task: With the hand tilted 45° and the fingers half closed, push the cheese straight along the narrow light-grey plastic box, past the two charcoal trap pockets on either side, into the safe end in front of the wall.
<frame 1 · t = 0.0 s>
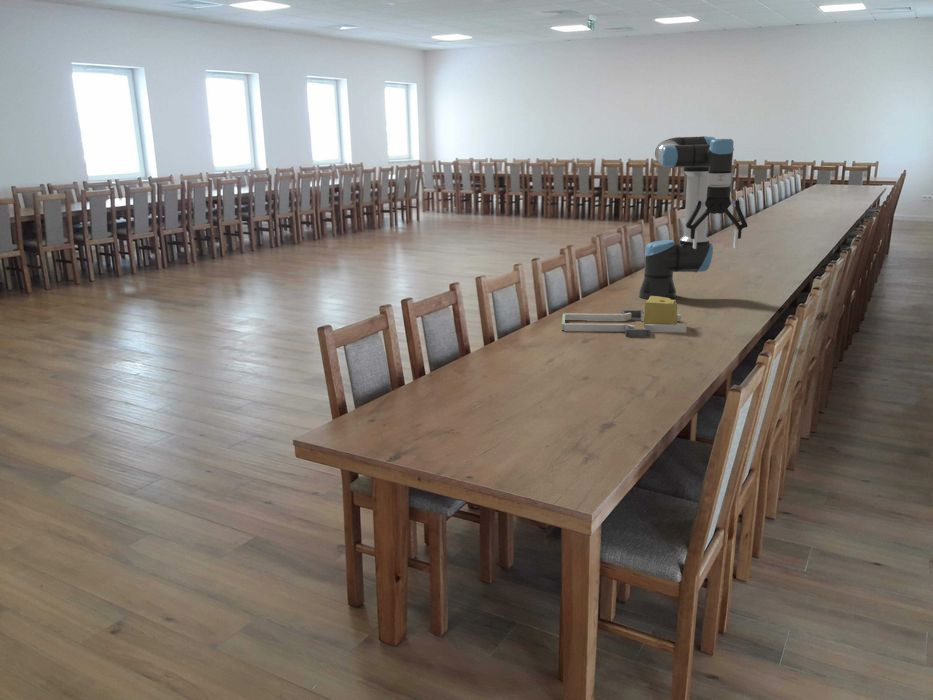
hand: (714, 248, 261), 28 cm above the table, tool pointing down, fingers open, 13 cm apart
cheese: (660, 327, 271), on the table
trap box: (620, 325, 273), on the table
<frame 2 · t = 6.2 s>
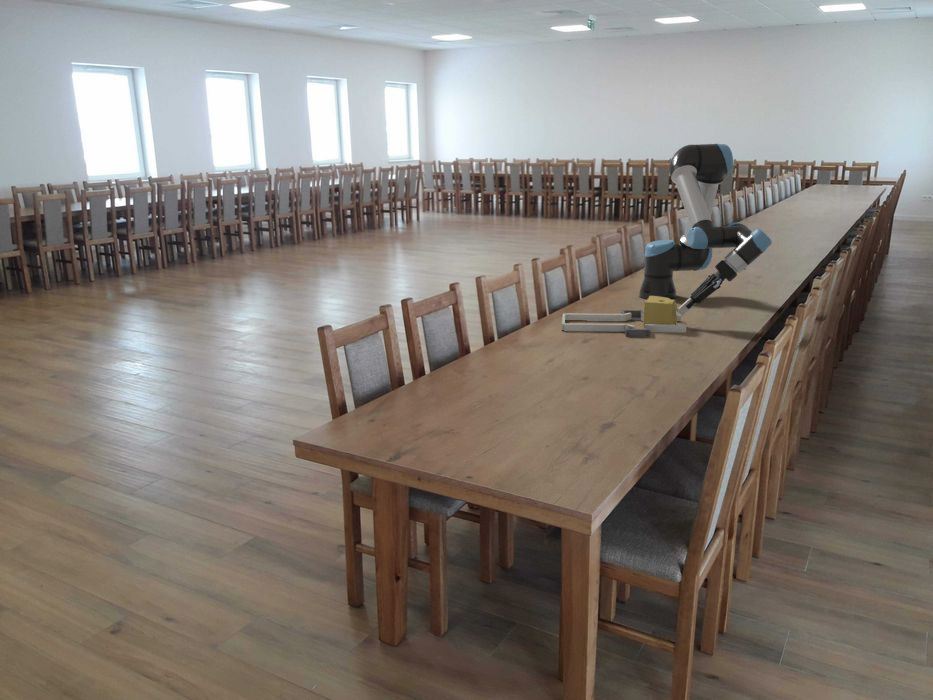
hand: (679, 313, 269), 5 cm above the table, tool tilted 45°, fingers closed
cheese: (659, 327, 271), on the table, touching gripper
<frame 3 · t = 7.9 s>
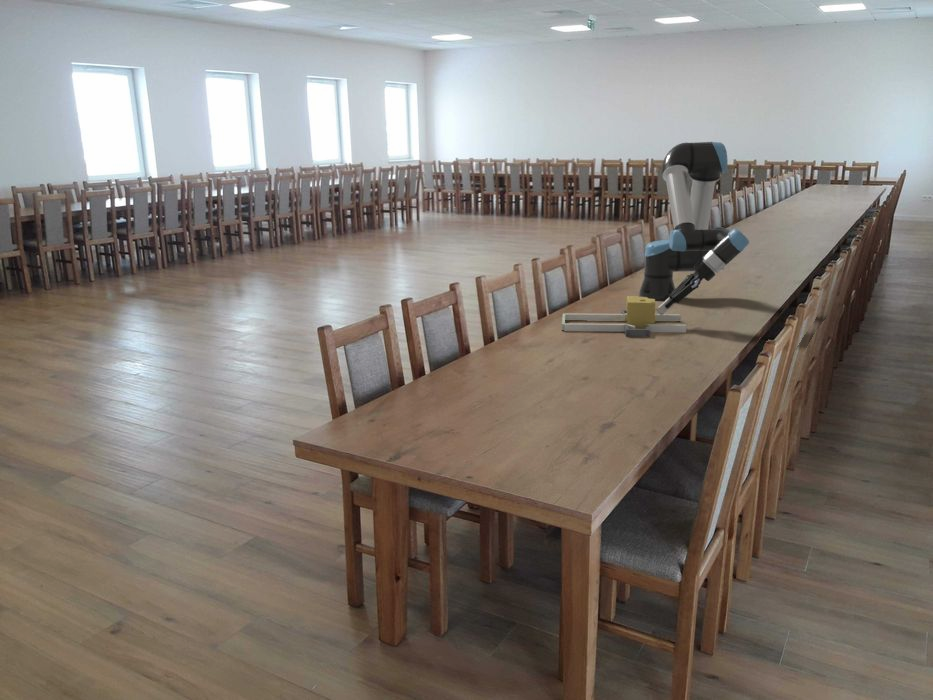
hand: (658, 312, 271), 5 cm above the table, tool tilted 45°, fingers closed
cheese: (640, 326, 272), on the table, touching gripper
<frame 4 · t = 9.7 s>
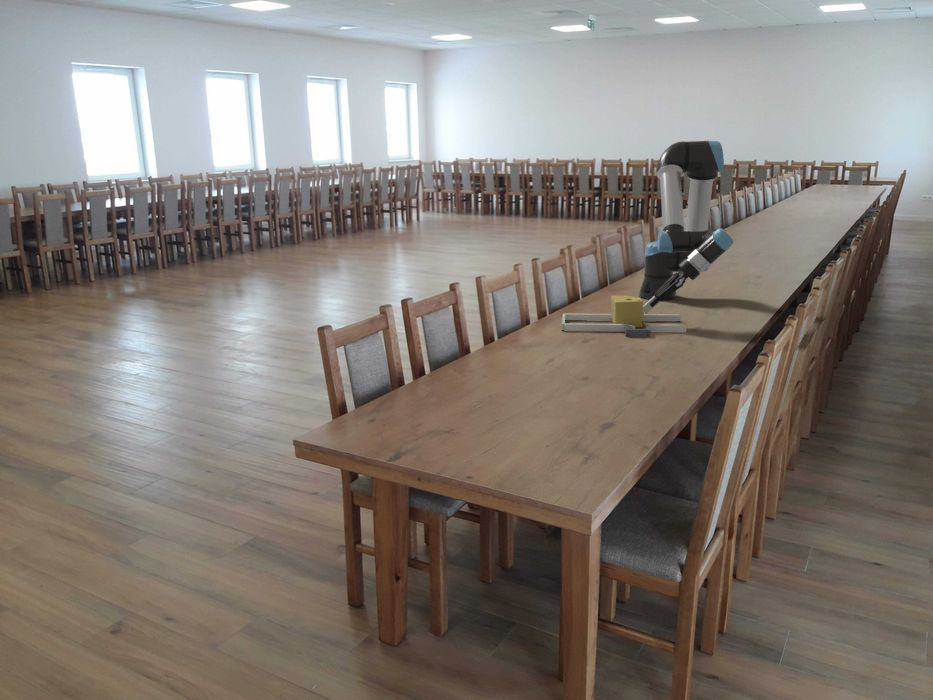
hand: (643, 311, 273), 5 cm above the table, tool tilted 45°, fingers closed
cheese: (626, 325, 274), on the table, touching gripper
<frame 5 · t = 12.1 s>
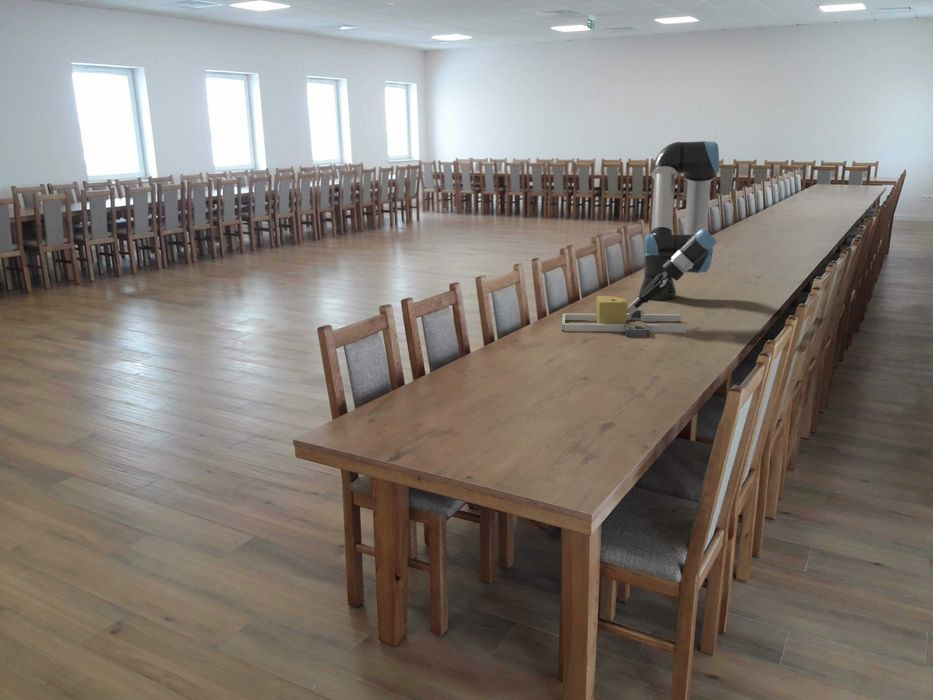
hand: (628, 312, 273), 5 cm above the table, tool tilted 45°, fingers closed
cheese: (610, 326, 274), on the table
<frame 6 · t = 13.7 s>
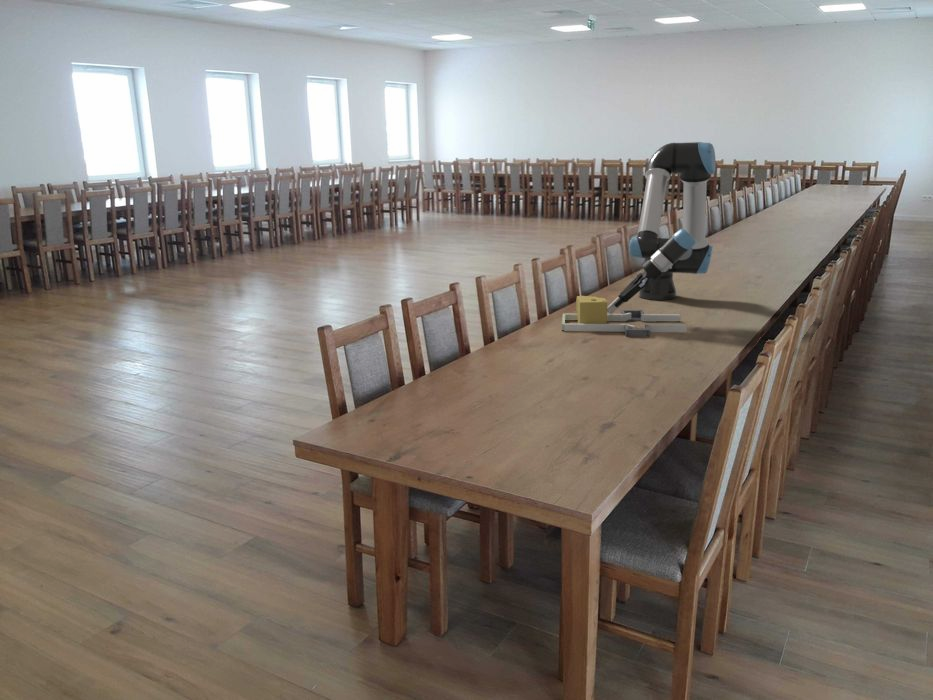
hand: (608, 311, 274), 5 cm above the table, tool tilted 45°, fingers closed
cheese: (591, 325, 275), on the table, touching gripper
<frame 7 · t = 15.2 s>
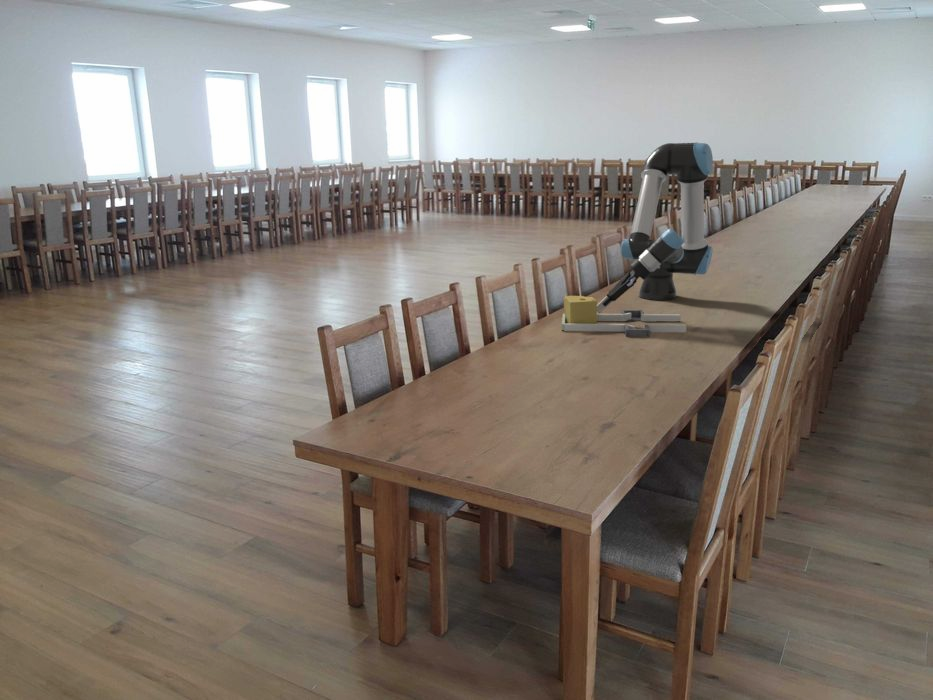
hand: (596, 310, 276), 5 cm above the table, tool tilted 45°, fingers closed
cheese: (580, 325, 276), on the table, touching gripper, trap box
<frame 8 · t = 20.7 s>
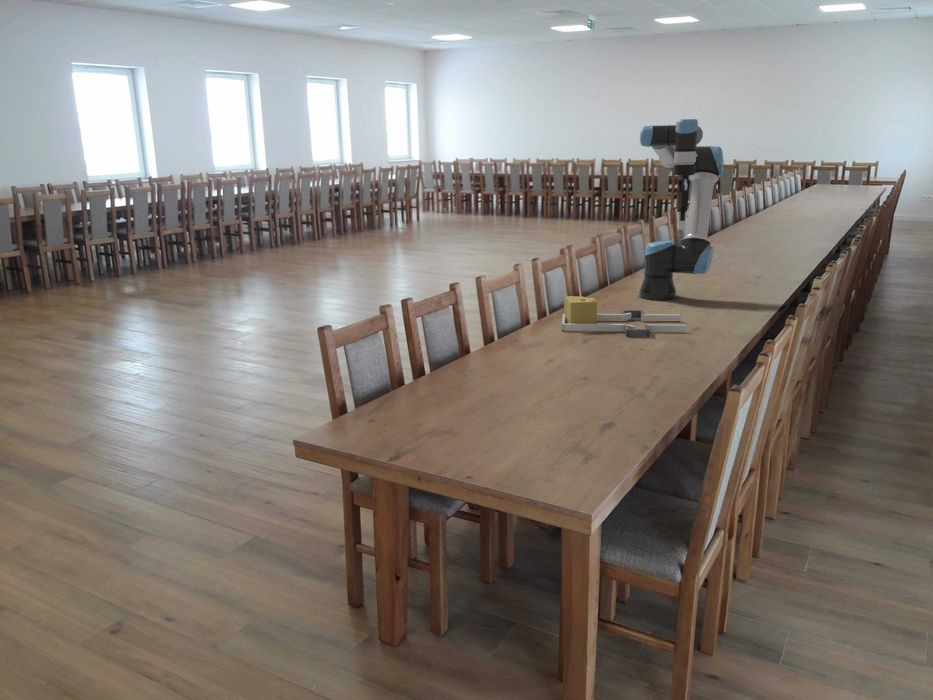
hand: (681, 229, 278), 32 cm above the table, tool pointing down, fingers closed
cheese: (580, 325, 276), on the table
at the end: cheese inside the target area (0.9 cm from its centre), on the table; cheese tilted 0° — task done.
